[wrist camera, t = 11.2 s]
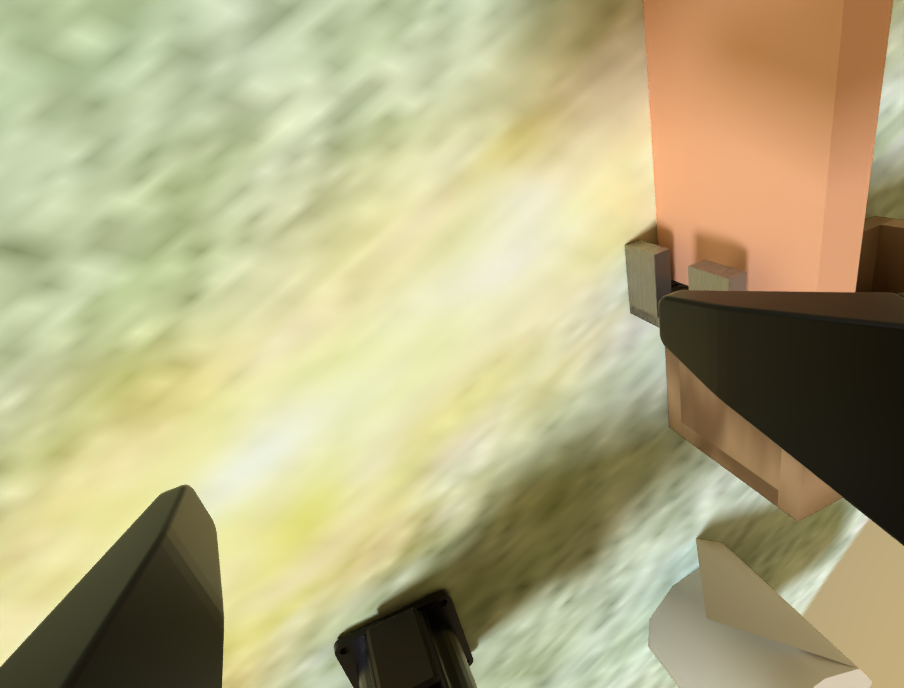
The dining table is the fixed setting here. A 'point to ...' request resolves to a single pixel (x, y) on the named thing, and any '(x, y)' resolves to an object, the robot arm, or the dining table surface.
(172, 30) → the dining table surface
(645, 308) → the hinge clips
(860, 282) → the cabinet
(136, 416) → the dining table surface
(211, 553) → the robot arm
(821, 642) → the toilet tissue
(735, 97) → the cabinet door
